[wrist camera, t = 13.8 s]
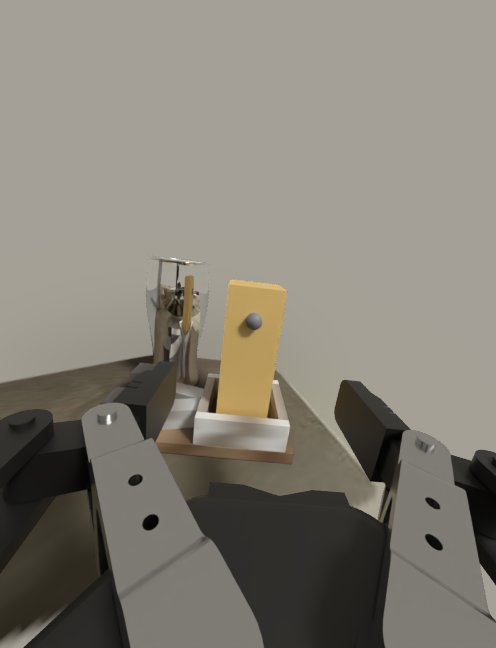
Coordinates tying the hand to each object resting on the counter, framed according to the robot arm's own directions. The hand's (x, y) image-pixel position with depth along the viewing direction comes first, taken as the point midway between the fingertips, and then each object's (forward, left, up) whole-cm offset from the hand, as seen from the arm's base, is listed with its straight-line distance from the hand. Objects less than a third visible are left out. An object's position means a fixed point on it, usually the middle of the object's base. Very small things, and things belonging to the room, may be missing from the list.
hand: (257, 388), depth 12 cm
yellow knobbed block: (0, +10, -9) cm, 13 cm away
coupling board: (-3, +10, -10) cm, 15 cm away
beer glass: (-8, +18, -10) cm, 22 cm away
